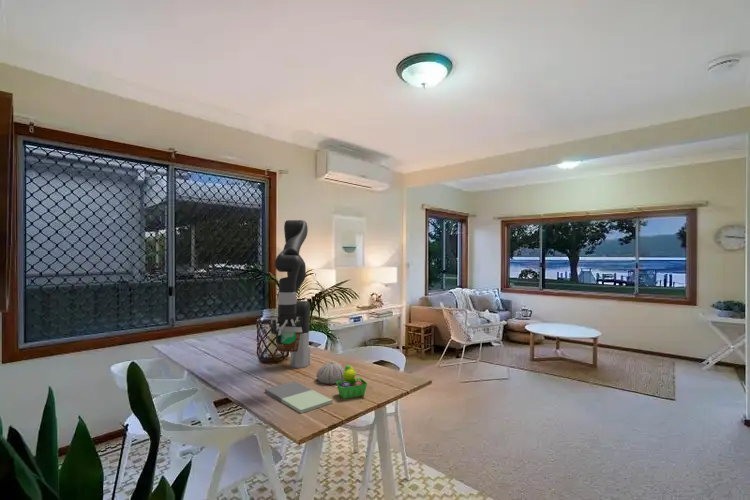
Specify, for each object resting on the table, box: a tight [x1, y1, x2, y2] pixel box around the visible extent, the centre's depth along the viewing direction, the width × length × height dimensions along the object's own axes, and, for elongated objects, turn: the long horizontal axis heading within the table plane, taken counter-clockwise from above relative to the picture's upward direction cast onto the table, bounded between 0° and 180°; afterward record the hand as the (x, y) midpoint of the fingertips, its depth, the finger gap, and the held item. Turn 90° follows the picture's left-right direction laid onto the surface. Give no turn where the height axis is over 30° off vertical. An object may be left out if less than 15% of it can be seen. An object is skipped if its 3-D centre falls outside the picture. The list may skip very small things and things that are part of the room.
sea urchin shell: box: [316, 361, 345, 384], centre depth 166 cm, size 13×14×8 cm
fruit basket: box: [335, 364, 368, 399], centre depth 150 cm, size 11×9×11 cm
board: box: [264, 380, 333, 414], centre depth 146 cm, size 14×28×1 cm, turn 43°
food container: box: [276, 324, 302, 353], centre depth 151 cm, size 12×6×10 cm, turn 65°
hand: (286, 342), depth 152 cm, fingers closed on food container, 6 cm apart
